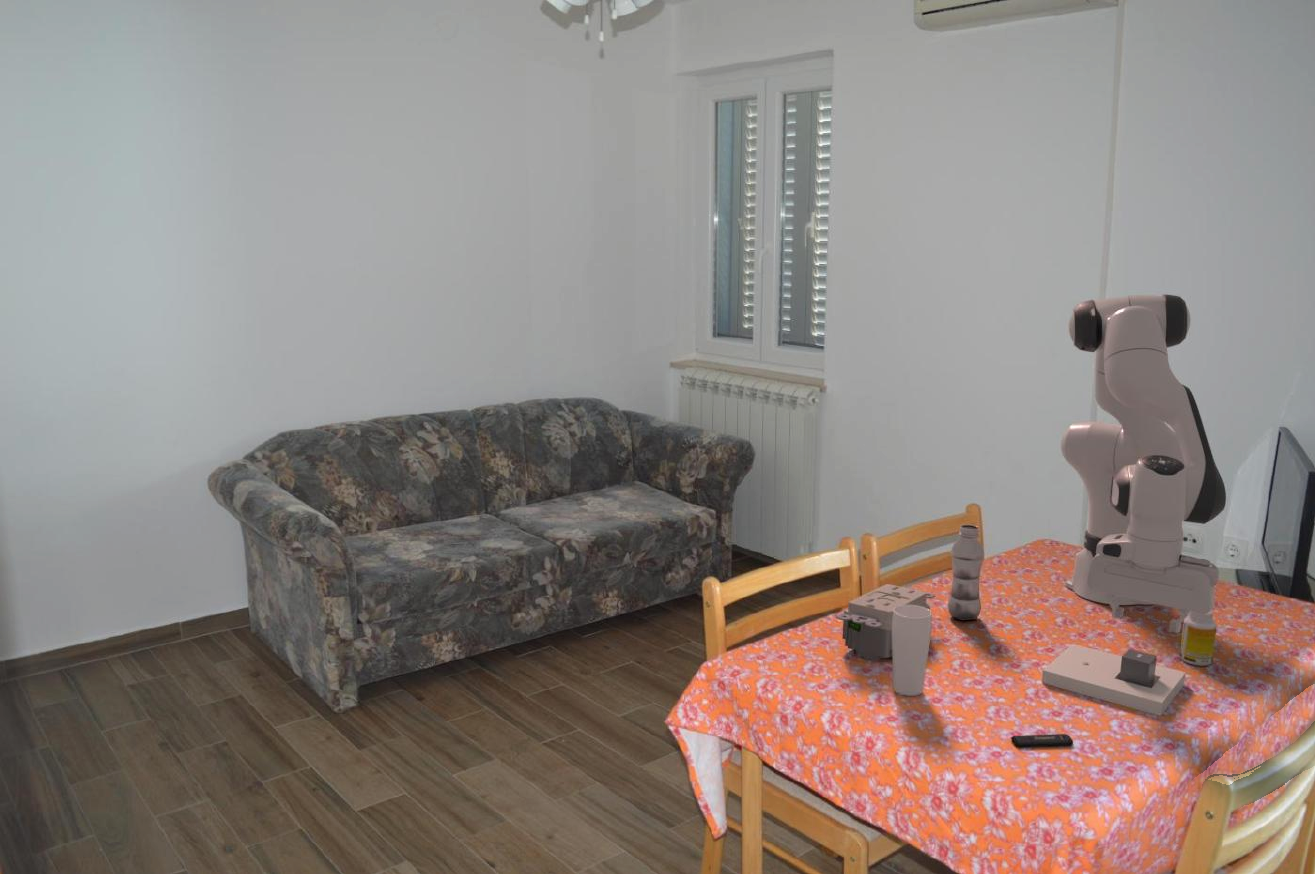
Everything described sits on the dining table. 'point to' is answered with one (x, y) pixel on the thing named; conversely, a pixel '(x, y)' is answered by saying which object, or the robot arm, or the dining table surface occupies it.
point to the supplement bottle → (1198, 639)
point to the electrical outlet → (876, 619)
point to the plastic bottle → (966, 574)
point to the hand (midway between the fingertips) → (1145, 624)
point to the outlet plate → (1111, 680)
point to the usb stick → (1042, 740)
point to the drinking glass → (910, 648)
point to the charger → (1138, 668)
